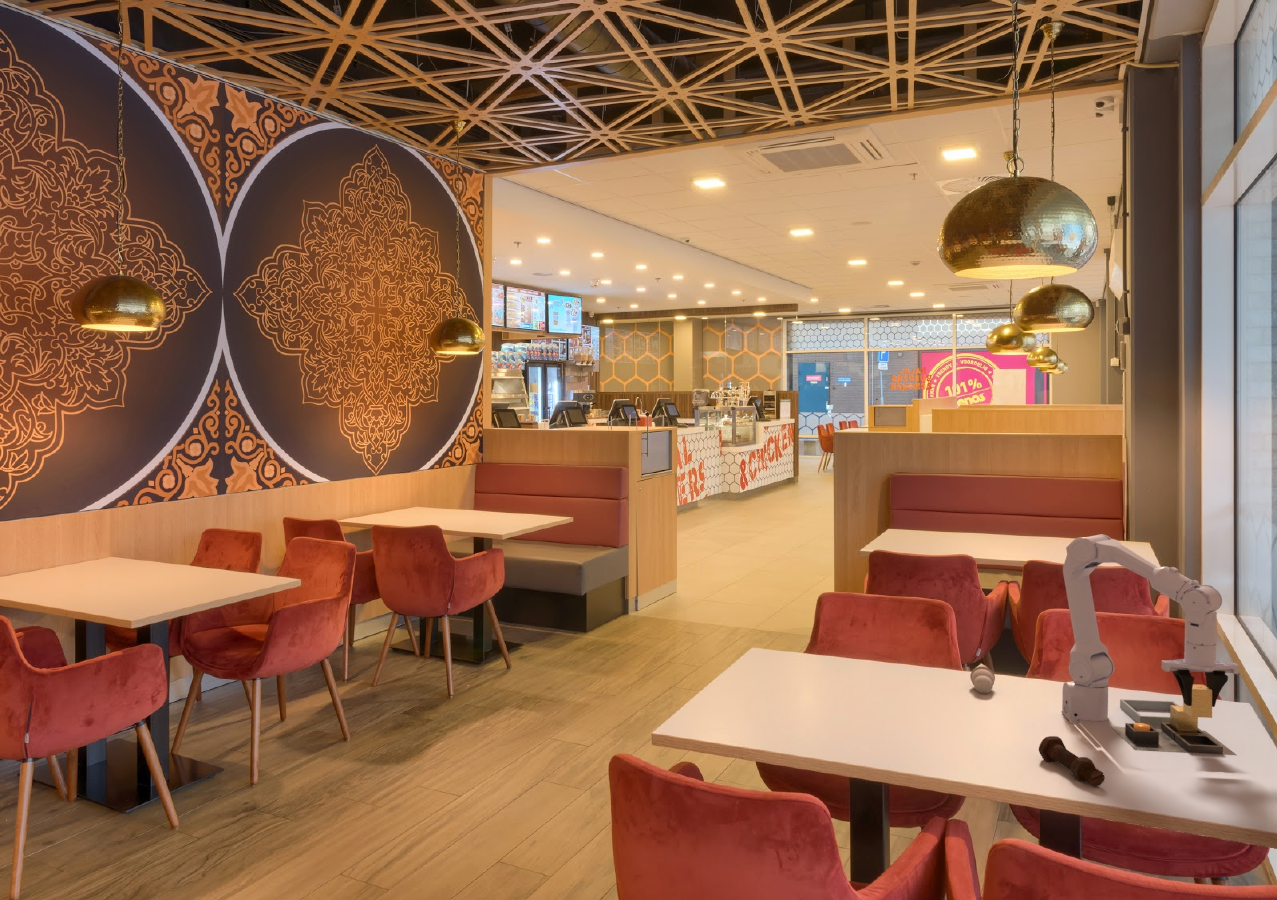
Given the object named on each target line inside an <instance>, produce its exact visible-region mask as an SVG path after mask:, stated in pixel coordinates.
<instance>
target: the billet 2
mask: <svg viewBox="0 0 1277 900" xmlns="http://www.w3.org/2000/svg"><path fill="white" fill-rule="evenodd" d="M1169 712H1170V713H1169V715H1170V716H1169V717H1170V728H1171V729H1172V730H1173V731H1175V732H1177V733H1198V728H1199V725H1198V724H1199V723H1198V722H1199V717H1191V716H1190V715H1188V714H1187V713H1185V712H1184V711H1183V705H1179V706H1174V705H1170V710H1169Z"/></svg>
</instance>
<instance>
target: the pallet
mask: <svg viewBox="0 0 1277 900" xmlns="http://www.w3.org/2000/svg"><path fill="white" fill-rule="evenodd" d="M1134 723H1135V722H1134ZM1134 723H1131V722H1125V724H1124V725H1125V726H1110V728H1111V729H1112V730H1113V731H1115V732H1116V734H1118V735H1119V736H1120V737H1121V738H1122V739H1123V740H1124V741H1125V742H1126V743H1127V744H1128V745H1129V746H1130V748H1132V749H1133V750H1134V751H1143V752H1144V751H1145V752H1165V753H1166V752H1167V753H1183V754H1185V753H1187V754H1204V755H1205V754H1206V755H1226V756H1237V753H1235V752H1234V751H1232V750H1231V749H1230V748H1228V747H1227V746H1226V745H1225V744H1223V743H1222V742H1221V741H1219V740H1218V739H1217V738H1216V737H1215V736H1213V735H1212V734H1210V733H1209V732H1207V730H1202V729H1200V728H1199V727H1198V733H1177V732H1175V731H1173V730H1172V729H1171V728H1170V723H1161V726H1160V728H1154V726H1151V725H1150V724H1147V725H1149V726H1150V731H1136V730H1135V729H1134Z"/></svg>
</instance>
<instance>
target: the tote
mask: <svg viewBox="0 0 1277 900" xmlns="http://www.w3.org/2000/svg"><path fill="white" fill-rule="evenodd" d="M1170 705H1174V706H1180V705H1179V704H1178V703H1176V702H1175V701H1174V700H1173V701H1171V700H1153V699H1152V700H1148V699H1146V700H1145V699H1127V698H1126V699H1122V698H1121V699H1119V708H1120V709H1121V710H1122V711H1123V712H1124V713H1125V714H1127V715H1128V716H1129V717H1130V718H1131V719H1132V720H1133V721H1135V723H1144V724H1150V725H1151V726H1152V727H1155V726H1156V727H1161V723H1170V716H1157V715H1156V716H1155V715H1141V714H1140V713H1139V712H1138V711H1136V709H1137V710H1154V711H1155V710H1157V711H1170Z"/></svg>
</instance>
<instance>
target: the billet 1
mask: <svg viewBox="0 0 1277 900" xmlns="http://www.w3.org/2000/svg"><path fill="white" fill-rule="evenodd" d="M1182 701H1183V700H1182ZM1182 706H1183V711H1184V712H1185V713H1187V714H1188V715H1190V716H1191V717H1198V718H1206V719H1207V718H1209V719H1210V718H1211V719H1212V718H1213V707H1212V689H1210V688H1208V687H1207V685H1205V684H1194V683H1193V687H1192V704H1191V706H1187V705H1186V704H1185V703H1184V701H1183V702H1182Z"/></svg>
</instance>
